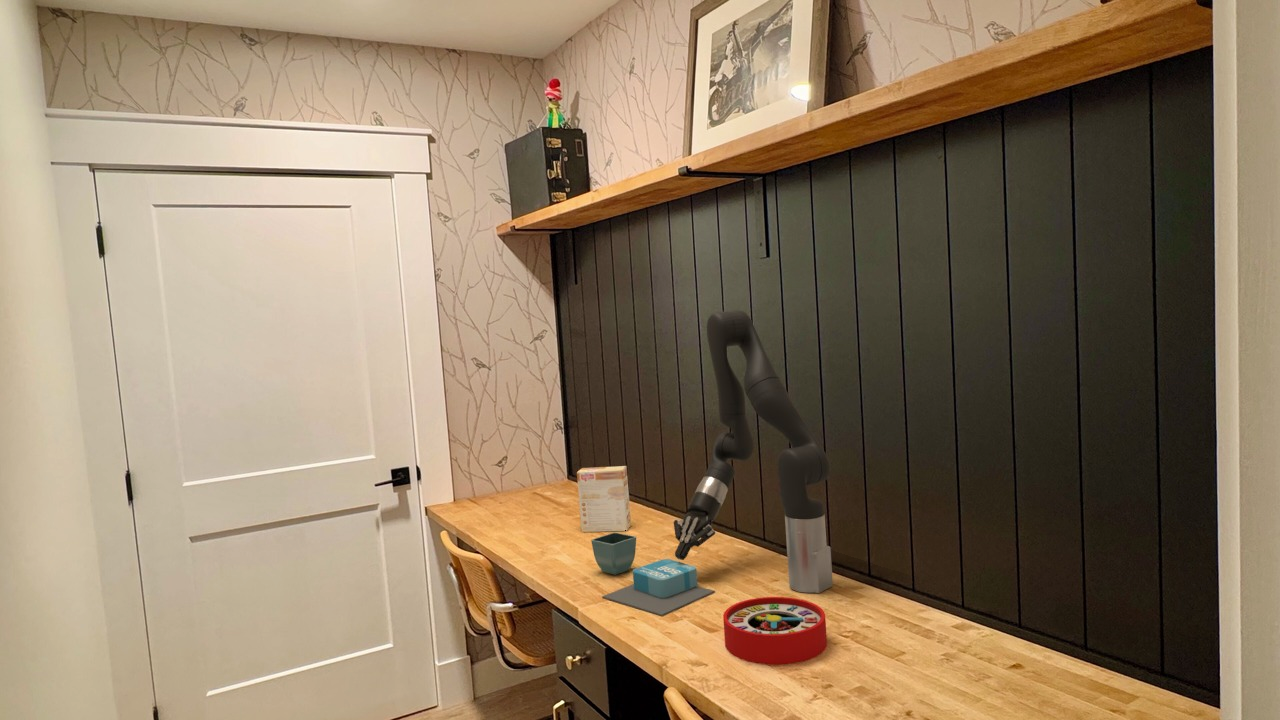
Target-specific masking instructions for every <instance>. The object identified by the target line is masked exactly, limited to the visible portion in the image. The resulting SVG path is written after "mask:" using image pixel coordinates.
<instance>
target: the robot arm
mask: <svg viewBox="0 0 1280 720" xmlns="http://www.w3.org/2000/svg"><path fill="white" fill-rule="evenodd" d="M706 338H707V343H708V348H709V353H710V357H711V363H712V367H713V372H714V376H715V381H716V390H717V400H718V401H717V403H718V418H719V422H720V423H721V424H722V425H724V426H726V427H728V428H730V430H731V432H727V431H724V432H722V433H720V434H719V435H717V437H715V440H714V442H713V446H712V453H711V456H710V461H709V466H708V467H707V470H706V472H705V473H704V475H703V478H702V480H701V481H700V482H699V484H698V485H697V487H696V490H695V492H694V493H693V495H692V497H691V500H690V501H689V503H688V506H687V512H686V514H685V515H684V516H683V518H682V519H680V520H678V519H675V520H674V521H673V528H674V535H675V538H676V539H677V541H679V543H678V545H677V548H676V550H675V551H674V556H675V558H676V559H678V560H679V561H684V560H685V559H686V558H687V556H688V554H689V553H690V551H691V549H692V548H693V547H697V548H698V547H700V546H701V545H702V544H704V543H706V541H708V540H709V539H711V538H712V537H713V536H714V535H716V531H715V530H714V528H713V527H712V524H713V522H714V521H715V519H716V518H717V516H718V514H719V511H720V510H721V508H722V505H723V503H724V501H725V499H726V496H727V493H728V490H729V489H730V486H731V484H732V482H733V480H734V479H735V475H736V469H735V468H734V467H733V466H732V465H731V464H730V463H728V460H734V461H739V462H746V461H748V460H749V459H750V458H751V457H752V455H753V453H754V449H755V443H754V438H753V435H752V433H751V428H750V426H749V422H748V419H747V416H746V415H747V414H746V410H747V409H746V397H747V398H748V400H749V402H750V404H751V407H752V408H753V409H754V411H755V413H756V414H757V415H758V416H759V417H760V419H762V420H763V421H764V422H766V423H767V424H769V425H770V426H771V427H773V428H774V429H775V430H777V431H778V432H779V433H780V434H782V435H783V436H784V437H785V439H786V440H787V441H788V442H789V444H790V446H791V448H790V447H789V448H785V449H784V450H782V451H781V452H780V453H779V455H778V458H777V467H776V468H777V476H778V485H779V486H778V487H779V493H780V494H779V495H780V501H781V504H782V507H783V510H784V521H785V523H784V525H785V535H786V536H785V537H786V540H785V541H786V554H787V570H788V584H789V588H790V589H791V590H793V591H795V592H799V593H811V594H812V593H813V594H814V593H816V594H820V593H822V592H824V591H826V590H828V589H830V588H832V587H833V586H834V583H833V582H834V581H833V568H832V552H831V551H832V550H831V549H832V548H831V546H829V545H827V533H826V530H827V529H826V516H825V515H826V513H825V504H824V502H823V501H822V500H820V499H817V498H813V497H810V496H809V495H808V489H807V486H812V485H816V484H821V483H823V482H826V481H827V480H828V478H829V477H830V472H831V466H830V465H831V464H830V462H829V459H828V456H827V454H826V452H825V451H824V447H822V445H821V444H820V442H819V441H818V440H817V438H816V437H815V435H814V434H813V433H812V431H811V430H810V428H809V427H808V426H807V423H806V422H805V421H804V419H803V417H802V416H801V414H800V412H799V411H798V409H797V408H796V406H795V404H794V402H793V401H792V399H791V396H790V395H789V393H788V391H787V389H786V387H785V385H784V383H783V381H782V380H781V378H780V376H779V375H778V373H777V370H775V367H774V366H773V364H772V363H771V360H770V359H769V356H768V354H767V353H766V351H765V350H766V349H765V348H764V346H763V344H762V341H761V339H760V337H759V334H758V332H757V329H756V327H755V325H754V323H753V321H752V319H751V318H750V316H749V315H748V313H747V312H745V311H743V310H737V309H736V310H735V309H734V310H727V311H718V312H713V313H711V314H710V316H708V318H707V322H706ZM733 346H735V347H736V346H738V348H740V349H741V351H742V352H741V353H743V356H744V358H745V361H746V367H745V374H744V381H743V385H742V384H741V382H740V380H739V379H738V376H737V375H736V374H735V372H734V370H733V369H732V367H731V365H730V362H729V359H728V347H733Z"/></svg>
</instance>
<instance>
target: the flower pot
mask: <svg viewBox="0 0 1280 720" xmlns="http://www.w3.org/2000/svg"><path fill="white" fill-rule="evenodd" d="M590 541H591V546H592V552H593V556H594V559H595V562H596V564H597V565H598V567H599V569H600V570H601V571H602V572H603V573H606V574H607V573H608V574H610V575H615V576H617V575H620V574H622V573H624V572H625V573H626V572H627V571H630V568H631V567H632V566H633V563H634V560H635V557H636V550H637V549H636V548H637V536H635V535H630V534H623V533H620V532H616V531H613V532H610V533H608V534H605V535H602V536H598V537H595V538H593V539H592V538H591V540H590Z"/></svg>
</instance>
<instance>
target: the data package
mask: <svg viewBox="0 0 1280 720" xmlns="http://www.w3.org/2000/svg"><path fill="white" fill-rule="evenodd" d="M632 580H633V581H632V582H633V584H634V589H636V590H639V591H642V592H645V593H648V594H650V595H653V596H656V597H659V598H667V597H670V596H673V595H675V594H678V593H681V592H683V591H686V590H689V589H691V588H694V587H696V586H698V571H697V566H694V565H691V564H688V563H684V562H682V561H677V560H674V559H669V558H665V559H660V560H658V561H655V562H652V563H648V564H645V565H643V566H640V567H639V566H638V567H636V568H634V569H632Z"/></svg>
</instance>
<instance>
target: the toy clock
mask: <svg viewBox="0 0 1280 720" xmlns="http://www.w3.org/2000/svg"><path fill="white" fill-rule="evenodd" d="M722 615H723V617H722V619H723V621H722V622H723V633H724V634H723V636H724V647H725V648H726V650H727V651H728V653H730V654H731V655H732V656H734V657H735V658H738V659H740V660H742V661H746V662H748V663H753V664H759V665H769V666H771V665H772V666H774V665H775V666H781V665H783V666H784V665H792V664H797V663H803V662H806V661H809V660H811V659H814V658H816V657H818V656H819V655H821V654H823V652H824V651H825V650H826V649H827V647H828V639H827V638H828V637H827V636H828V635H827V624H826V622H827V620H826V613H825V610H824V609H822V607H820V606H819V605H818V604H815V603H813V602H812V601H809V600H806V599H805V600H804V599H800V598H794V597H786V596H766V597H765V596H764V597H763V596H761V597H756V598H755V597H754V598H749V599H745V600H742V601H739V602H736V603H734V604H732V605H730V606H729V607H727V608H726V610H725V611H724V612H723V614H722Z"/></svg>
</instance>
